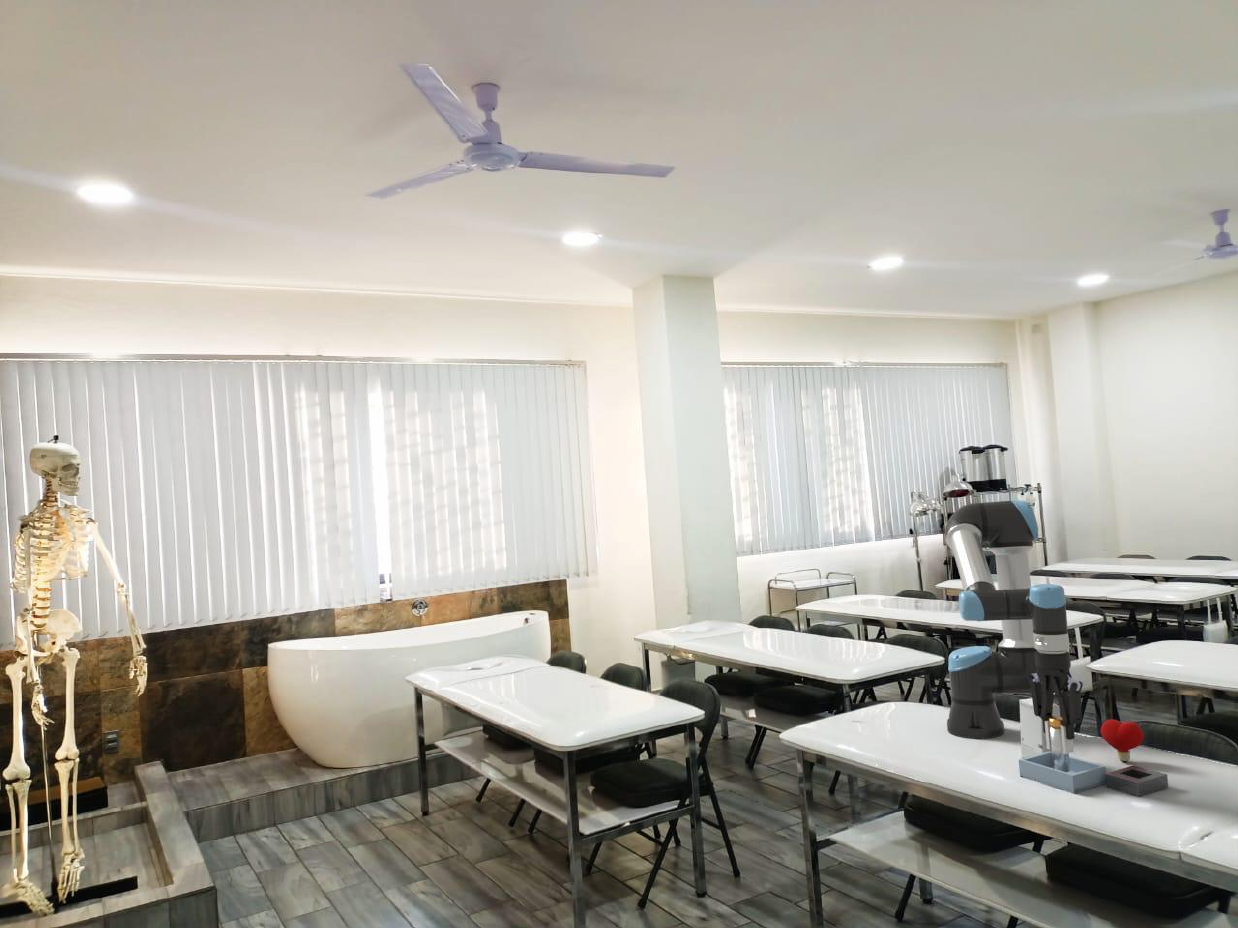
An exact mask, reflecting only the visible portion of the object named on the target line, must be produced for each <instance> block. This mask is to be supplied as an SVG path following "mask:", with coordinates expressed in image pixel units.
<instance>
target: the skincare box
mask: <svg viewBox="0 0 1238 928" xmlns="http://www.w3.org/2000/svg"><path fill="white" fill-rule="evenodd" d="M1018 701H1019V719H1020V720H1019V722H1020V724H1019V725H1020V752H1021V754H1020V755H1021V758H1022V759H1023V758H1026V757H1030V756H1034V755H1038V754H1041V753H1045V752H1049V751H1052V749H1050V750H1049V749H1047V743H1046V734H1045V733H1044V731H1043V721H1042V719H1041V718H1040V717H1039V716H1035V714H1034V708H1033V701H1032V697H1031V698H1024V699H1023V698H1022V699H1018ZM1052 716H1053V717H1061V711H1060V707H1059V704H1056V703H1054V702H1053V712H1052Z"/></svg>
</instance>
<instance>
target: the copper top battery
mask: <svg viewBox="0 0 1238 928" xmlns="http://www.w3.org/2000/svg"><path fill="white" fill-rule="evenodd" d="M1062 723H1063V719H1062V716H1060V717H1050V718H1049V725H1050V737H1051V749H1052V761H1053V769H1056V770H1060V771H1063V772H1069V771H1070V762H1069V756H1070V753H1067V754H1064V753H1063V749H1062V737H1061V726H1060V725H1061V724H1062Z"/></svg>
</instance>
